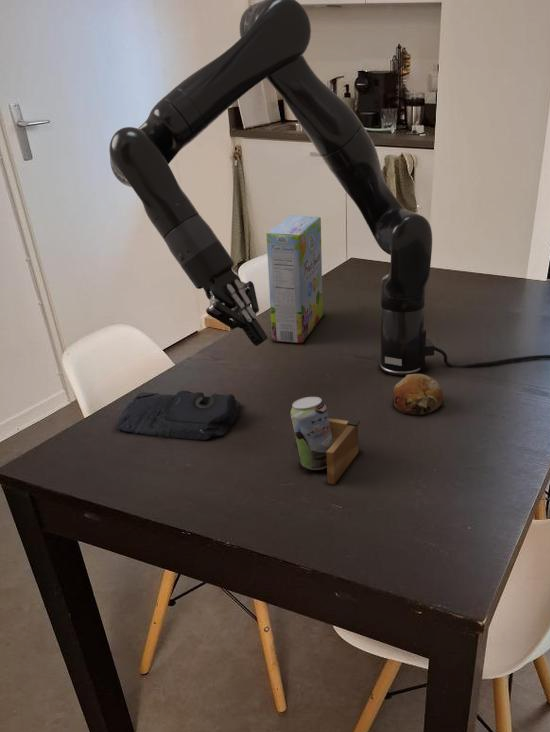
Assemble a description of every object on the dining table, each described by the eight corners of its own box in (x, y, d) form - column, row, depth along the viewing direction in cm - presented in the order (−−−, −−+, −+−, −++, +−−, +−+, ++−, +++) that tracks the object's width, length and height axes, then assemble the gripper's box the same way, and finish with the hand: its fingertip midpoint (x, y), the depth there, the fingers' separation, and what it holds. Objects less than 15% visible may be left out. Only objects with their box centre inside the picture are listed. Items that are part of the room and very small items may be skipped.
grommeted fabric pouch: (145, 398, 142) (141, 376, 140) (247, 406, 139) (244, 384, 136) (108, 432, 130) (103, 409, 127) (219, 442, 126) (216, 419, 124)
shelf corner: (273, 472, 117) (270, 440, 114) (301, 441, 126) (299, 410, 123) (336, 484, 113) (334, 451, 110) (360, 452, 123) (360, 420, 119)
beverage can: (328, 477, 116) (325, 412, 109) (288, 470, 118) (283, 406, 111) (341, 459, 121) (339, 396, 114) (302, 452, 123) (298, 390, 116)
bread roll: (444, 417, 141) (449, 378, 140) (433, 417, 132) (440, 375, 131) (397, 410, 144) (403, 372, 143) (384, 410, 134) (390, 369, 133)
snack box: (306, 345, 167) (300, 234, 153) (271, 343, 168) (262, 233, 154) (325, 315, 185) (321, 214, 171) (294, 314, 186) (287, 213, 172)
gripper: (192, 250, 105) (259, 346, 110) (234, 230, 115) (294, 319, 120) (161, 275, 109) (228, 367, 114) (205, 253, 119) (264, 338, 124)
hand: (262, 342), depth 117 cm, fingers closed
